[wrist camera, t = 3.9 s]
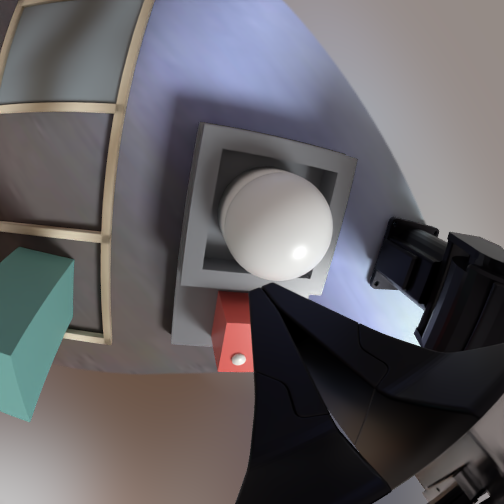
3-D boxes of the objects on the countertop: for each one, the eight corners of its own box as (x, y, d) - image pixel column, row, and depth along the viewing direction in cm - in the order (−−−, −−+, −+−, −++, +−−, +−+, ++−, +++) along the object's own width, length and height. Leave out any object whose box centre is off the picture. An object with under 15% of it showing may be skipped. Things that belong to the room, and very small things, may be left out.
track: (157, -7, 14) (157, -11, 13) (112, 340, 22) (111, 345, 22) (21, 2, 11) (18, 0, 10) (1, 320, 19) (-2, 324, 19)
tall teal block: (74, 259, 19) (10, 356, 9) (73, 316, 21) (30, 422, 11) (19, 246, 18) (-63, 325, 8) (21, 302, 19) (-38, 394, 9)
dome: (316, 176, 19) (366, 194, 14) (296, 260, 21) (333, 303, 16) (227, 158, 18) (247, 168, 12) (211, 251, 20) (223, 297, 14)
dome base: (337, 152, 21) (380, 160, 16) (287, 339, 26) (309, 380, 21) (199, 122, 18) (204, 117, 13) (171, 334, 23) (171, 381, 18)
